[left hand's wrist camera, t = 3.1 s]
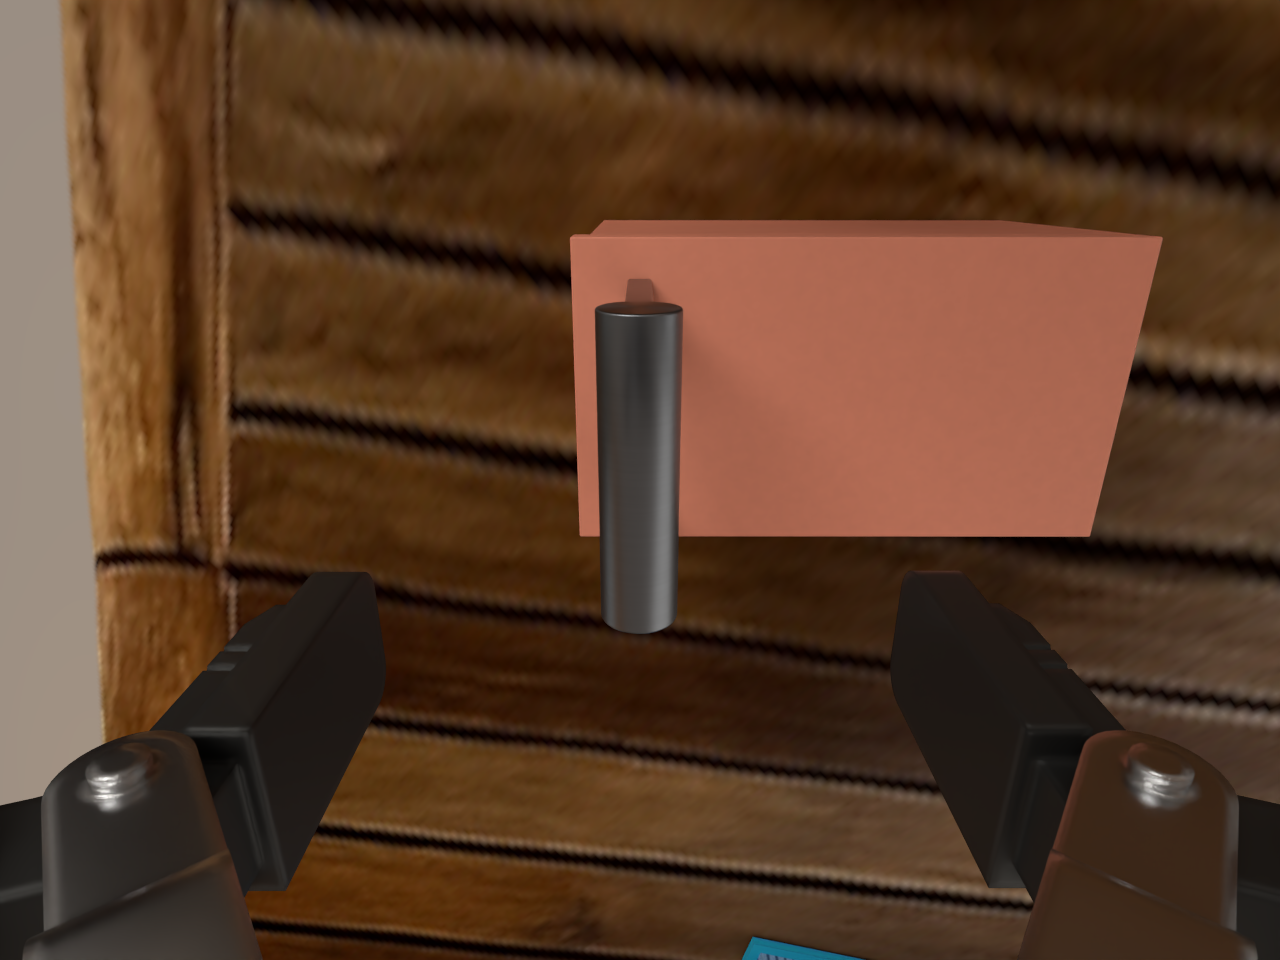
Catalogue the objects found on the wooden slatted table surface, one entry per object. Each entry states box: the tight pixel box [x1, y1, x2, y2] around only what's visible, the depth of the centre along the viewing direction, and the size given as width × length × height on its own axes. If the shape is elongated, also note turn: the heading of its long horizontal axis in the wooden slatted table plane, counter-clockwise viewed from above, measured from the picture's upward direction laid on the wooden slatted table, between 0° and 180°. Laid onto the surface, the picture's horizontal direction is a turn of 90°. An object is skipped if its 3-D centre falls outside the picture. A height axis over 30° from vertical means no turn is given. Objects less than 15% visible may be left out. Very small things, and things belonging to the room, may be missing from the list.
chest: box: [590, 220, 1134, 235], centre depth 29 cm, size 17×10×9 cm, turn 90°
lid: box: [570, 235, 1163, 634], centre depth 21 cm, size 17×10×9 cm, turn 90°
